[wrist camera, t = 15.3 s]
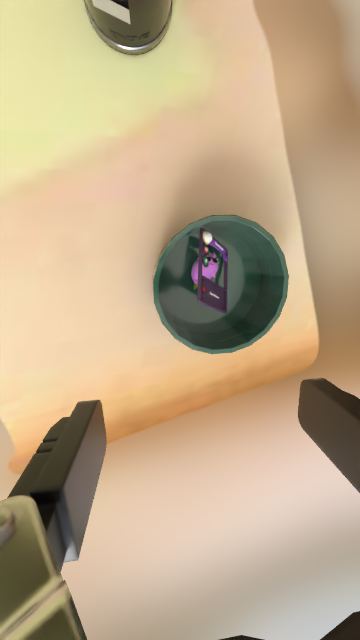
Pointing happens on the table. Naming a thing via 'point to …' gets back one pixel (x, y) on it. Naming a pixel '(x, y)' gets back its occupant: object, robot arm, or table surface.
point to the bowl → (222, 285)
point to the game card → (210, 274)
